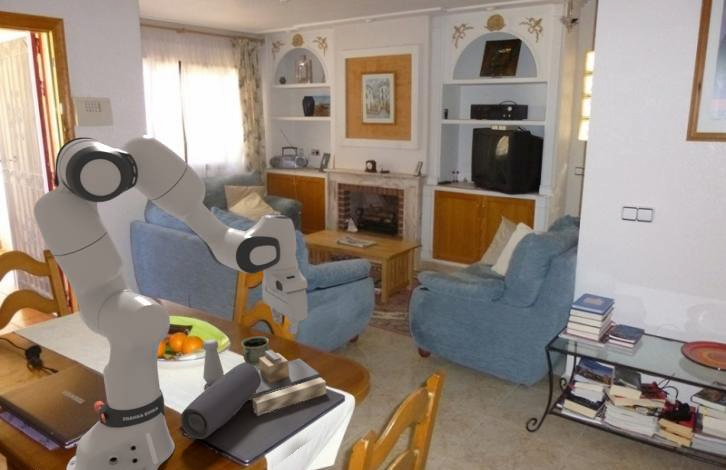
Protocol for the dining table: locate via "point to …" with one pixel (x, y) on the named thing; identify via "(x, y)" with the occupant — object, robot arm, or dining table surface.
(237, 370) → the bluetooth speaker
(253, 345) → the vessel
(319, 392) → the birch batten
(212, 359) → the salt shaker
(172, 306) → the dining table surface
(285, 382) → the ridge stand
